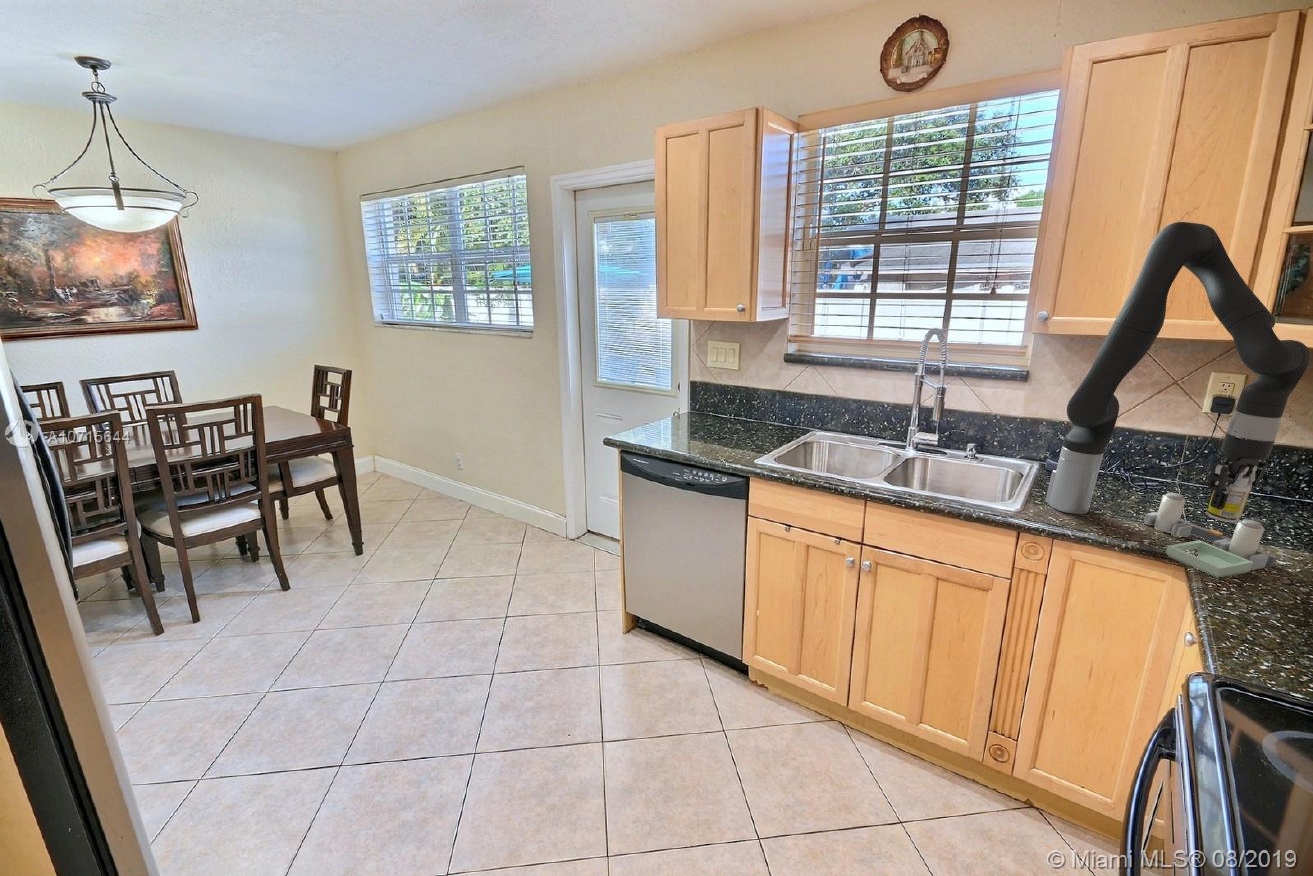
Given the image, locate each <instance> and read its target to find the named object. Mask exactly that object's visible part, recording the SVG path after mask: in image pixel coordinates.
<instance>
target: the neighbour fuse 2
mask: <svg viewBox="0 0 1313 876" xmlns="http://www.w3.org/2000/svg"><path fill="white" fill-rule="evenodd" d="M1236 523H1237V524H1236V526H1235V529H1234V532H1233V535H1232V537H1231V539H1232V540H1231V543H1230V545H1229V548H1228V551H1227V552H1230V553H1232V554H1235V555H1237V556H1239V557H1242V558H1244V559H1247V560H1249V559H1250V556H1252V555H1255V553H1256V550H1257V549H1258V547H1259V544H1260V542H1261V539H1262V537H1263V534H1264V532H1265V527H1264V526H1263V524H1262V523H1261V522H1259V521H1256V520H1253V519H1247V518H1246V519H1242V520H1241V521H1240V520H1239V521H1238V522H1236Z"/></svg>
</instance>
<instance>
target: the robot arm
mask: <svg viewBox="0 0 1313 876" xmlns="http://www.w3.org/2000/svg"><path fill="white" fill-rule="evenodd" d="M1183 267H1185V268H1186V269H1187V270H1188V271H1190V273H1192V274H1193V275H1194V276H1195V277H1196V278H1197V279H1198V281H1199V282H1200V283H1201V284H1202V287H1203V288H1204V290H1205V292H1206V297H1207V298H1208V303H1209V305H1210V308H1211V311H1212V312H1213V314H1214V316H1216V318H1217V319H1218V320H1219V322H1220V324H1221V325H1222V326H1223V327H1224V328H1225V330H1226V331H1227V332H1228V334H1229V335H1230V336H1231V337H1232V339H1233V343H1234V345H1235V349H1236V350H1237V353H1238V356H1239V358H1240V359H1241V361H1242V363H1243V364H1244V365H1245V367H1247V369H1249V370H1250V371H1251V372H1253V373H1255V374H1257V377H1256V378H1255V380H1254V381H1253V382H1252V383H1251V384H1248V385H1246V386H1245V387H1244V388H1243V389H1242V391H1241V393H1240V395H1239V398H1238V401H1237V403H1236V406H1235V409H1234V410H1235V411H1234V412H1233V415H1232V417H1231V418H1230V420H1229V423H1228V427H1227V429H1226V433H1225V435H1224V439H1223V441H1222V445H1221V447H1220V451H1221V452H1222V453H1224V454H1225V455H1226V457H1225V459H1224V460H1223V461H1222V463H1221V464H1218V463H1213V464H1211V470H1210V474H1209V480H1208V484H1207V488H1208V489H1209V490H1212V491H1214V494H1213V493H1212V494H1213V497H1212V496H1211V497H1212V500H1211V499H1210V500H1211V503H1210V502H1209V503H1210V506H1211V507H1214V508H1216V509H1223V508H1224V506H1225V503H1226V500H1227V497H1228V495H1229V494H1228V493H1229V492H1230V490H1231V489H1232V487H1233V486H1236V485H1237V484H1238V483H1239V481H1240V480H1241V478H1242V477H1249V481H1248V484H1247V485H1248V486H1249V487H1250V488H1251V490H1252V488H1257V487H1258V486H1259V484H1260V482H1261V480H1262V478H1263V475H1264V474H1265V472H1266V469H1267V468H1268V465H1269V462H1268V461H1265V460H1268V459H1269V458H1270V455H1271V452H1272V450H1273V447H1274V444H1275V442H1276V439H1277V435H1278V433H1279V431H1280V428H1281V427H1280V426H1281V420H1282V417H1283V413H1284V410H1285V408H1286V406H1287V403H1288V399H1289V397H1290V395H1291V393H1292V392H1293V391H1294V390H1295V388H1296V387H1297V386H1298V384H1299V382H1300V381H1301V379H1302V377H1303V376H1304V375H1305V373H1306V371H1307V368H1308V367H1309V364H1310V358H1311V356H1310V355H1311V354H1310V350H1309V348H1308V346H1307V345H1306V344H1304V342H1301V341H1298V340H1293V339H1285V340H1283V339H1280V338H1279V337H1278V336H1277V335H1276V332H1275V331H1274V330H1273V328H1274V327H1275V325H1276V320H1275V317H1274V316H1273V314H1272V313H1271V311H1269V309H1268V308H1267V307H1266V305H1265V304H1263V302H1262V300H1260V299H1259V297H1258V296H1257V295H1256V294H1255V293H1254V292H1253V290H1251V288H1250V287H1249V285H1248V284H1247V283H1246V282H1245V280H1244V279H1243V277H1242V276H1241V275H1240V273H1239V272H1238V270H1237V268H1236V266H1235V265H1234V264H1233V262H1232V260H1231V258H1230V257H1229V254H1228V253H1227V250H1226V248H1225V247H1224V244H1223V243H1222V240H1221V239H1220V237H1219V235H1218V233H1217V232H1216V231H1215V229H1214V228H1213V227H1211V226H1209V225H1207V224H1205V223H1204V224H1203V223H1199V222H1197V223H1196V222H1188V221H1177V222H1173V223H1171V224H1168V225H1166V226H1165V227H1164V228H1163V229H1161V230H1160V231H1158V233H1157V234H1156V235H1155V238H1154V239H1153V240H1152V243H1151V244H1150V247H1149V249H1148V252H1147V253H1146V257H1145V259H1144V261H1143V264H1142V266H1141V269H1140V271H1139V274H1138V276H1137V278H1136V281H1135V283H1134V285H1133V287H1132V288H1131V290H1130V291H1129V294H1128V296H1127V298H1126V300H1125V302H1124V304H1123V306H1122V308H1121V309H1120V312H1119V313H1118V315H1117V316H1116V317H1115V320H1114V321H1113V323H1112V326H1111V327H1110V329H1109V330H1108V333H1107V335H1106V337H1105V338H1104V340H1103V343H1102V345H1101V347H1100V348H1099V350H1098V352H1097V354H1096V357H1095V358H1094V360H1093V363H1092V364H1091V367H1090V369H1089V371H1088V372H1087V374H1086V375H1085V377H1084V378H1083V380H1082V381H1081V383H1080V384H1079V386H1078V387H1077V389H1076V391H1074V393H1073V395H1072V396H1071V397H1070V399H1069V401H1068V403H1067V406H1066V415H1067V418H1068V420H1069V421H1070V422H1071V424H1073V425H1072V427H1071V429H1070V430H1069V432H1068V433H1067V434H1066V435H1065V436H1064V438H1063V441H1062V445H1061V451H1060V453H1059V458H1058V461H1057V462H1058V463H1057V466H1056V469H1054V470H1052V471H1051V475H1050V480H1049V482H1048V483H1049V484H1048V487H1047V493H1046V496H1045V500H1044V502H1045V503H1046V504H1048V506H1050V507H1051V508H1052V509H1055V510H1058V511H1060V512H1063V513H1068V514H1072V515H1085V514H1088V512H1089V509H1090V506H1091V505H1090V504H1091V502H1092V498H1093V493H1094V491H1095V486H1096V482H1097V479H1098V476H1099V471H1100V468H1101V465H1102V460H1103V457H1104V453H1105V449H1106V447H1107V445H1109V443H1110V441H1111V439H1112V437H1113V434H1114V431H1115V427H1116V424H1117V420H1118V416H1119V412H1120V402H1119V400H1118V398H1117V397H1116V395H1115V392H1116V390H1117V388H1118V387H1119V385H1120V384H1121V382H1122V381H1123V380H1124V378H1125V377H1127V375H1128V374H1129V373H1130V372H1131V371H1132V370H1133V369H1134V368H1135V367H1136V366H1137V365H1138V363H1140V361H1141V360H1142V359H1143V358H1144V357H1145V356H1146V355H1147V354H1148V352H1149V350H1150V349H1151V347H1152V346H1153V345H1154V343H1155V341H1156V339H1157V337H1158V336H1159V334H1160V332H1161V330H1162V328H1163V325H1164V324H1165V323H1164V322H1165V319H1166V314H1167V301H1168V295H1169V291H1170V289H1171V287H1172V285H1173V282H1175V280H1176V277H1177V276H1178V275H1179V273H1180V272H1181V269H1182V268H1183ZM1227 477H1228V478H1231V479H1233V480H1229V479H1227ZM1226 483H1228V484H1227V486H1226ZM1225 486H1226V487H1225Z"/></svg>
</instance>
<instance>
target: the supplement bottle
mask: <svg viewBox="0 0 1313 876" xmlns="http://www.w3.org/2000/svg"><path fill="white" fill-rule="evenodd" d="M1227 479H1229V480H1233V479H1231V478H1228V477H1227ZM1248 481H1249V477H1242V478H1241V480H1240V481H1239V483H1238V484H1237V485H1236V486H1233V487H1232V489H1231V490H1230V492H1229V493H1228V494H1229V495H1228V497H1227V500H1226V503H1225V506H1224V508H1223V509H1216V508H1214V507H1211V506H1210V503H1211V500H1212V497H1213V494H1214V490H1212V491H1213V492H1212V494H1211V497H1210V501H1209V504H1208V507H1207V509H1206V514H1207V516H1209V517H1210V518H1212V519H1214V520H1217V521H1221V522H1225V523H1238V522H1239V521H1240V520H1241V518H1242V516H1243V512H1244V510H1245V507H1246V504H1247V501H1248V499H1249V496H1250V493H1251V490H1252V489H1251V488H1250V487H1249V486H1248V485H1247V484H1248ZM1227 484H1228V483H1226V486H1227ZM1226 486H1225V487H1226Z"/></svg>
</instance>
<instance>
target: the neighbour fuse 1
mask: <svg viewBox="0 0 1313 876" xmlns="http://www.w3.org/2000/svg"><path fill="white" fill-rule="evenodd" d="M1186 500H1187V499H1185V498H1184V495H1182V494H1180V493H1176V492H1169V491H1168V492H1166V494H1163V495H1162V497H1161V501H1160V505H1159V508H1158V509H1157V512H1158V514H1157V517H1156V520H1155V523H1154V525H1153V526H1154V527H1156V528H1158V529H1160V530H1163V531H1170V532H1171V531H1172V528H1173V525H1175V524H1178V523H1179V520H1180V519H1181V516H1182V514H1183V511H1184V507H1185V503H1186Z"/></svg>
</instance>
